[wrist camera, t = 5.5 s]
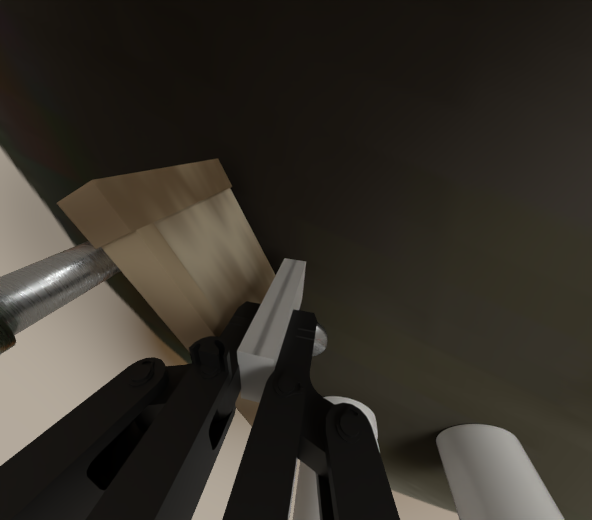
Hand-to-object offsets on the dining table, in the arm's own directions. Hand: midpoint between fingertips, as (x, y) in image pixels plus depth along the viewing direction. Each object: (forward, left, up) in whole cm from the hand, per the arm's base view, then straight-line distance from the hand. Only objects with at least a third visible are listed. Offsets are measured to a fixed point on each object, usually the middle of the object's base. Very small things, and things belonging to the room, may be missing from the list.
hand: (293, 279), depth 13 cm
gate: (+2, -3, -3) cm, 4 cm away
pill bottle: (+15, +25, -4) cm, 29 cm away
